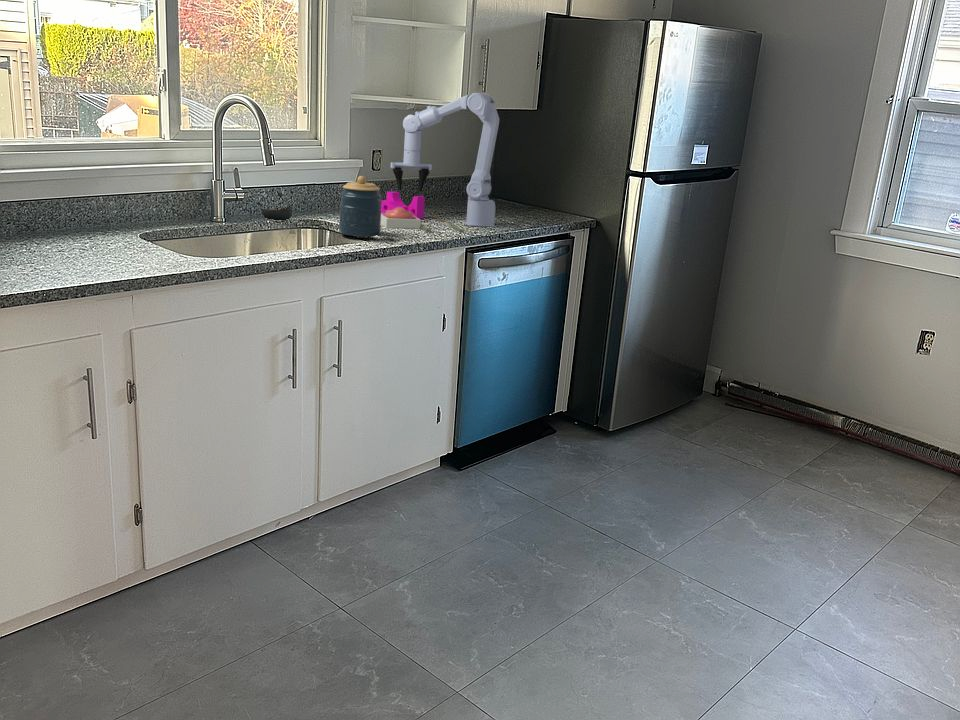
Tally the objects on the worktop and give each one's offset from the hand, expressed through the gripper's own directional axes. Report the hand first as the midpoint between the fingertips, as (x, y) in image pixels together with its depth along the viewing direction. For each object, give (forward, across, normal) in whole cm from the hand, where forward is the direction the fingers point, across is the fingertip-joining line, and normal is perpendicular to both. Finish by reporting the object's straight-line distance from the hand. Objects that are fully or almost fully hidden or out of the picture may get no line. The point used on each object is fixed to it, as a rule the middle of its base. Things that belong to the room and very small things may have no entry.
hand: (410, 189), depth 311 cm
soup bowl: (+13, +47, +2) cm, 48 cm away
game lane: (+10, -4, +13) cm, 17 cm away
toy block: (+9, +2, 0) cm, 10 cm away
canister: (+10, +26, +36) cm, 45 cm away
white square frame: (+10, +9, +18) cm, 22 cm away
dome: (+11, +9, +18) cm, 22 cm away
